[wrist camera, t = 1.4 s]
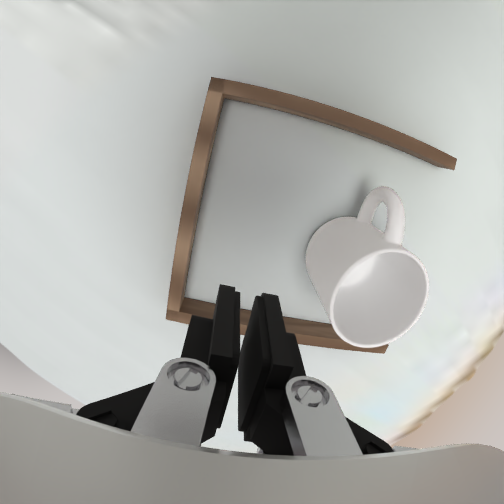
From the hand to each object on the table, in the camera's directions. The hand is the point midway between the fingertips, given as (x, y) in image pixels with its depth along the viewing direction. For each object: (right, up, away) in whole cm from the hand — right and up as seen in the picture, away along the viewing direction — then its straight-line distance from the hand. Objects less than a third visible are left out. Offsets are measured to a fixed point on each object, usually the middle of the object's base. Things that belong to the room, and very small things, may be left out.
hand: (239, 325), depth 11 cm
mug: (+10, +4, +19) cm, 22 cm away
